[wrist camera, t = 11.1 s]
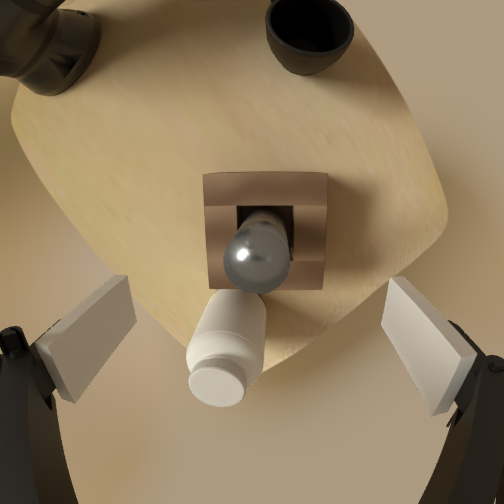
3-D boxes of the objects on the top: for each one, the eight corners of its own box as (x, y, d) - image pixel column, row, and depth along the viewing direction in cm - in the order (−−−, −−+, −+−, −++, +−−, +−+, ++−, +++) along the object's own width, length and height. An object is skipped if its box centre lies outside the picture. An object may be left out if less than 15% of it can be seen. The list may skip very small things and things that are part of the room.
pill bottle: (196, 312, 38) (160, 385, 23) (232, 272, 35) (207, 339, 21) (240, 345, 39) (226, 425, 24) (279, 309, 36) (281, 388, 22)
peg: (245, 205, 31) (221, 230, 18) (284, 205, 31) (290, 230, 18) (246, 243, 33) (225, 293, 19) (284, 243, 32) (289, 294, 19)
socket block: (214, 172, 32) (202, 174, 26) (317, 172, 31) (327, 173, 25) (219, 269, 35) (209, 288, 30) (314, 269, 35) (322, 289, 29)
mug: (303, 4, 24) (310, -37, 15) (345, 75, 27) (370, 46, 18) (244, 20, 26) (235, -20, 17) (284, 94, 29) (289, 66, 20)
